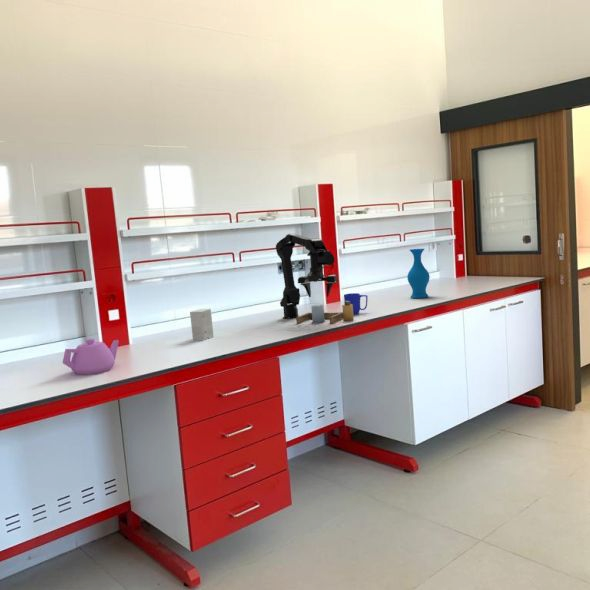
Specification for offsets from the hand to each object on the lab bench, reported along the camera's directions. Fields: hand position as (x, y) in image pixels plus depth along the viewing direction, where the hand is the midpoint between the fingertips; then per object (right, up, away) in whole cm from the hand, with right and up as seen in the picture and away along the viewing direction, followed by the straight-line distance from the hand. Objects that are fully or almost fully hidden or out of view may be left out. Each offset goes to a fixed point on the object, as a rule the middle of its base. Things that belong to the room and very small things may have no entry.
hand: (318, 296), depth 296 cm
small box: (-53, -19, -20) cm, 60 cm away
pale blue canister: (+1, -12, +2) cm, 12 cm away
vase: (+61, -1, +57) cm, 83 cm away
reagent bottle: (+14, -11, -2) cm, 18 cm away
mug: (+20, -9, +17) cm, 28 cm away
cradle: (0, -12, +2) cm, 12 cm away
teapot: (-87, -28, -68) cm, 114 cm away
